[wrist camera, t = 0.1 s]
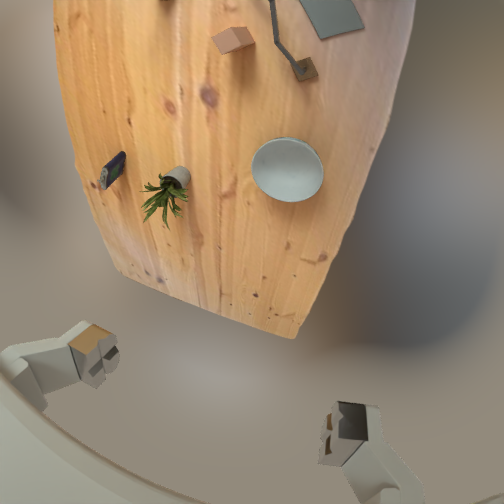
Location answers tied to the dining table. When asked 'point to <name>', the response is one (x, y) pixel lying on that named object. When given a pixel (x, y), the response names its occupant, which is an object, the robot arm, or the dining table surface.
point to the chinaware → (287, 169)
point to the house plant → (168, 192)
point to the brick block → (233, 39)
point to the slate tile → (332, 16)
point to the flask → (112, 170)
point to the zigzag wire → (302, 67)
